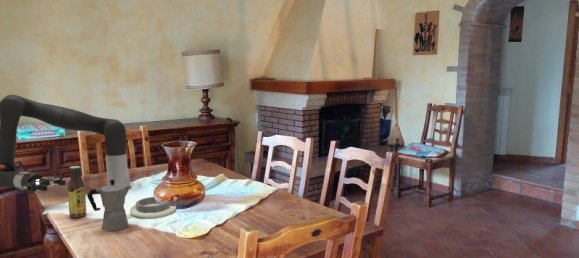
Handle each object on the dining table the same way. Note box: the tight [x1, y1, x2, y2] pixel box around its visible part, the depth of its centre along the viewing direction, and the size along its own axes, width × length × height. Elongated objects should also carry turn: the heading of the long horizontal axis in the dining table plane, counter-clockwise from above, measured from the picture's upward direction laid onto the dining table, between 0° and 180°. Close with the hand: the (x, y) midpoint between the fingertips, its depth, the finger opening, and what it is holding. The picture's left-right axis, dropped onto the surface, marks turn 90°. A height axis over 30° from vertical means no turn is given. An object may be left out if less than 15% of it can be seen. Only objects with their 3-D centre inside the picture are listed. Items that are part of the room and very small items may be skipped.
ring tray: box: [129, 196, 177, 220], centre depth 186 cm, size 18×18×4 cm
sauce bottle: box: [67, 165, 87, 219], centre depth 180 cm, size 7×6×20 cm
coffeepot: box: [86, 180, 132, 232], centre depth 167 cm, size 15×9×18 cm, turn 122°
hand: (56, 185), depth 184 cm, fingers open, 8 cm apart
